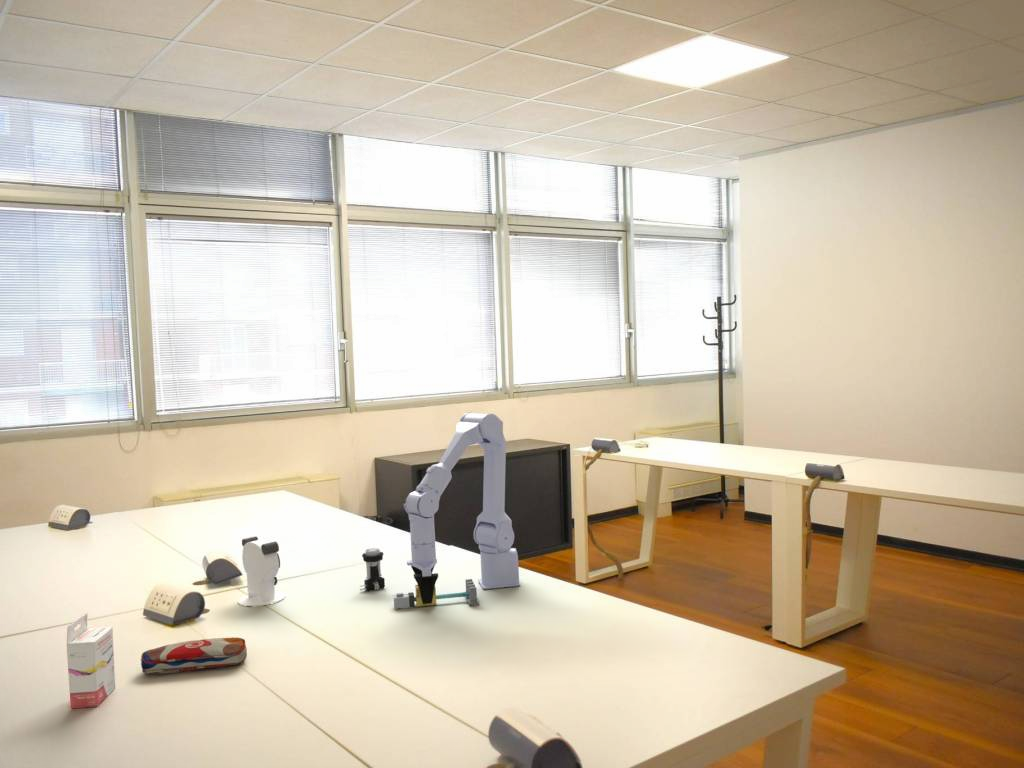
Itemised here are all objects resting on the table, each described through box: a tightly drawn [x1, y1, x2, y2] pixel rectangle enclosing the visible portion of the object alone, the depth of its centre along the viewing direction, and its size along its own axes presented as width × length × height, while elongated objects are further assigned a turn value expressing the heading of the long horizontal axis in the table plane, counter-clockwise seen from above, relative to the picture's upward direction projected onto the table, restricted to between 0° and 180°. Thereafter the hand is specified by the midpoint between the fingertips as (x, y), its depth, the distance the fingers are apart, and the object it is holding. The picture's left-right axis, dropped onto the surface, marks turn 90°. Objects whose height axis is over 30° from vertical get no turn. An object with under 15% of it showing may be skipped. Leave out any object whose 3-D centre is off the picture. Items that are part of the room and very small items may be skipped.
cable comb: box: [464, 578, 480, 607], centre depth 202 cm, size 2×9×4 cm, turn 11°
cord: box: [414, 591, 468, 602], centre depth 200 cm, size 16×1×1 cm, turn 101°
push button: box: [359, 547, 386, 592], centre depth 214 cm, size 7×5×10 cm
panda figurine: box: [237, 535, 286, 607], centre depth 209 cm, size 12×11×15 cm
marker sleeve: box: [414, 584, 437, 608], centre depth 200 cm, size 4×3×4 cm
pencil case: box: [140, 637, 248, 675], centre depth 166 cm, size 11×20×5 cm, turn 86°
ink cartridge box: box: [66, 613, 116, 709], centre depth 152 cm, size 9×5×15 cm, turn 5°
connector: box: [393, 592, 410, 610], centre depth 199 cm, size 4×3×3 cm
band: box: [407, 591, 416, 608], centre depth 199 cm, size 1×3×3 cm, turn 10°
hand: (425, 598), depth 200 cm, fingers open, 7 cm apart
